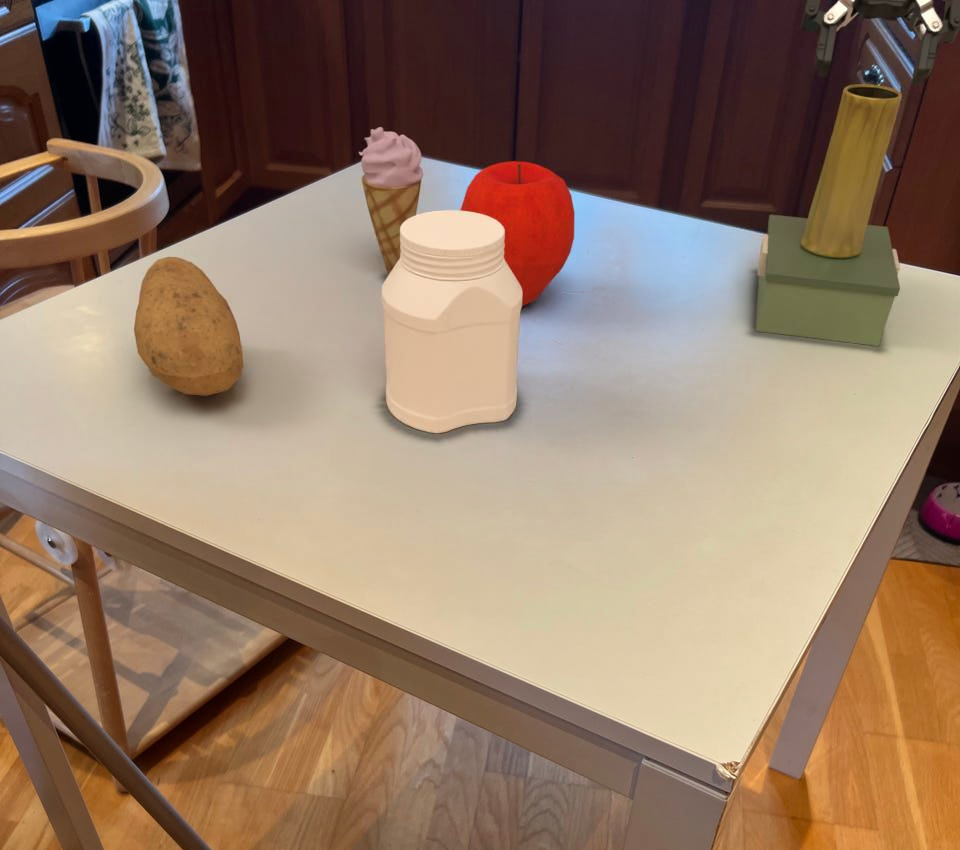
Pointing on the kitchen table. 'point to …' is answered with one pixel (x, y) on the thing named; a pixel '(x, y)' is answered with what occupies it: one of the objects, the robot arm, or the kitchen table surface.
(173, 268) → the potato
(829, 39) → the robot arm
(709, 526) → the kitchen table surface
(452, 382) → the jar
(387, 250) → the ice cream cone
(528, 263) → the apple
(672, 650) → the kitchen table surface
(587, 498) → the kitchen table surface
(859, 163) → the vase
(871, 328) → the lunchbox
